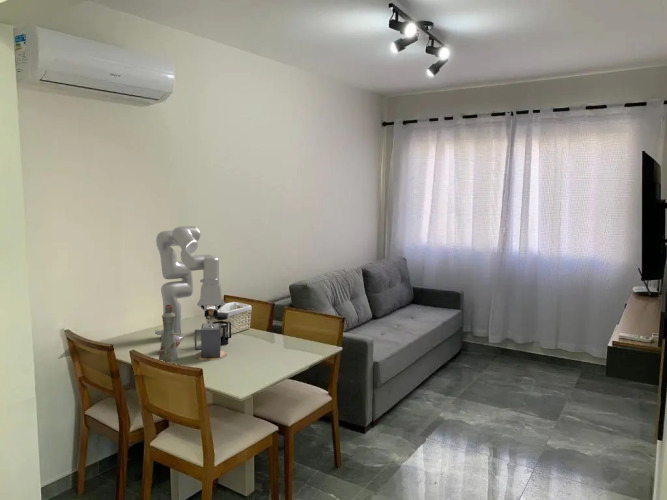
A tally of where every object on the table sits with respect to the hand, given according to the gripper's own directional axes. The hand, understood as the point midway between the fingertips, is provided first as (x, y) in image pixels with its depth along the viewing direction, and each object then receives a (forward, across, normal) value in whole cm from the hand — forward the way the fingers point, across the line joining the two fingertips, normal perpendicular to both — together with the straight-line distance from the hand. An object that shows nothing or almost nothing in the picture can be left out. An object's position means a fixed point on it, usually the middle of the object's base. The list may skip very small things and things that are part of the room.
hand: (211, 317), depth 252 cm
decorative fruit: (+20, -21, +11) cm, 31 cm away
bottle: (+20, -20, -4) cm, 29 cm away
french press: (+20, +4, +19) cm, 28 cm away
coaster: (+20, 0, 0) cm, 20 cm away
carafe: (+19, -2, 0) cm, 19 cm away
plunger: (+15, 0, 0) cm, 15 cm away
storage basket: (+20, +7, +46) cm, 51 cm away
